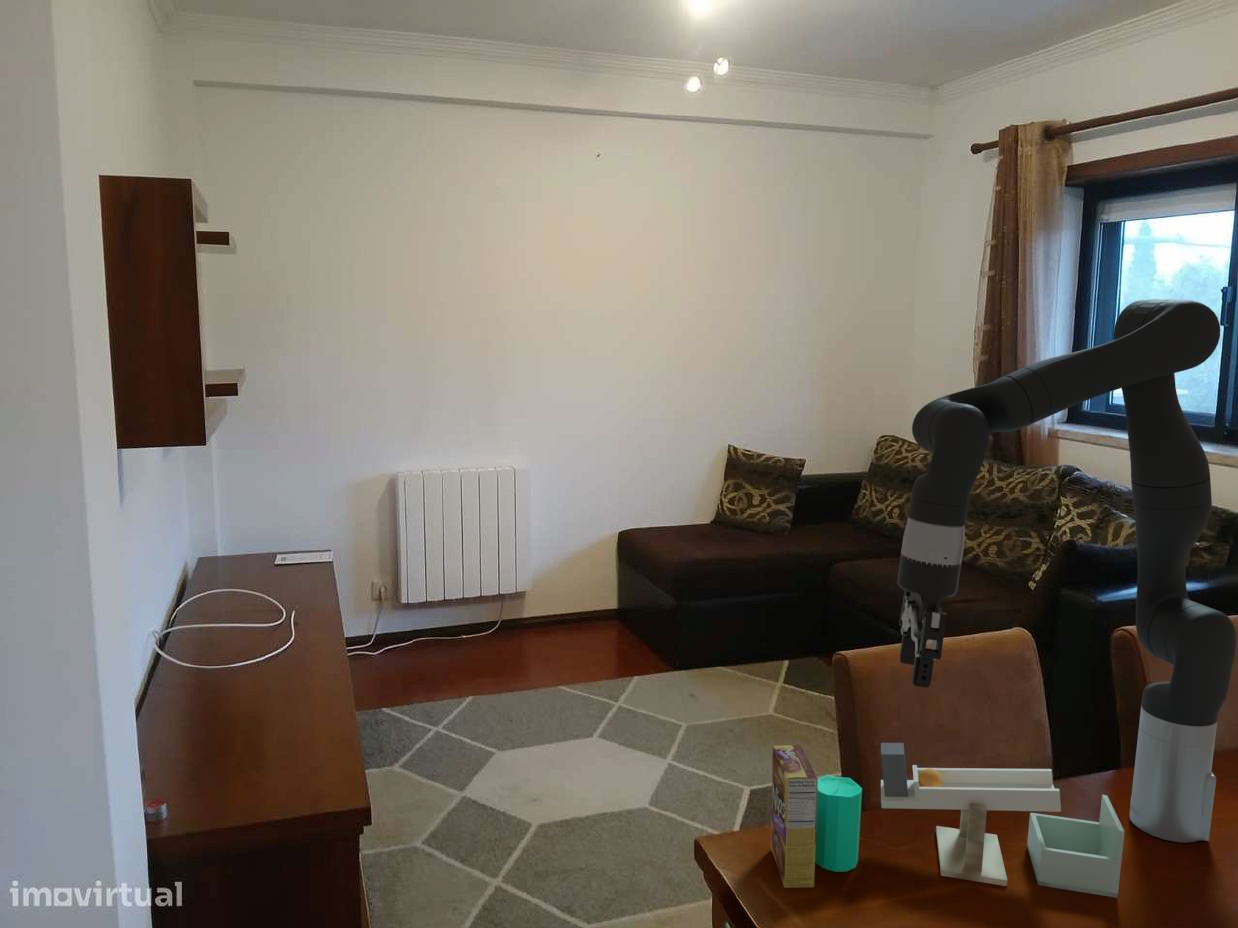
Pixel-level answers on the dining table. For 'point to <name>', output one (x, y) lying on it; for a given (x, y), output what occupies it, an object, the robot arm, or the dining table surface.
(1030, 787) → the board
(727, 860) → the dining table surface
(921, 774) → the ball
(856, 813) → the candle
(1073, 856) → the cup
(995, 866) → the lever stand
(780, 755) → the candy box
